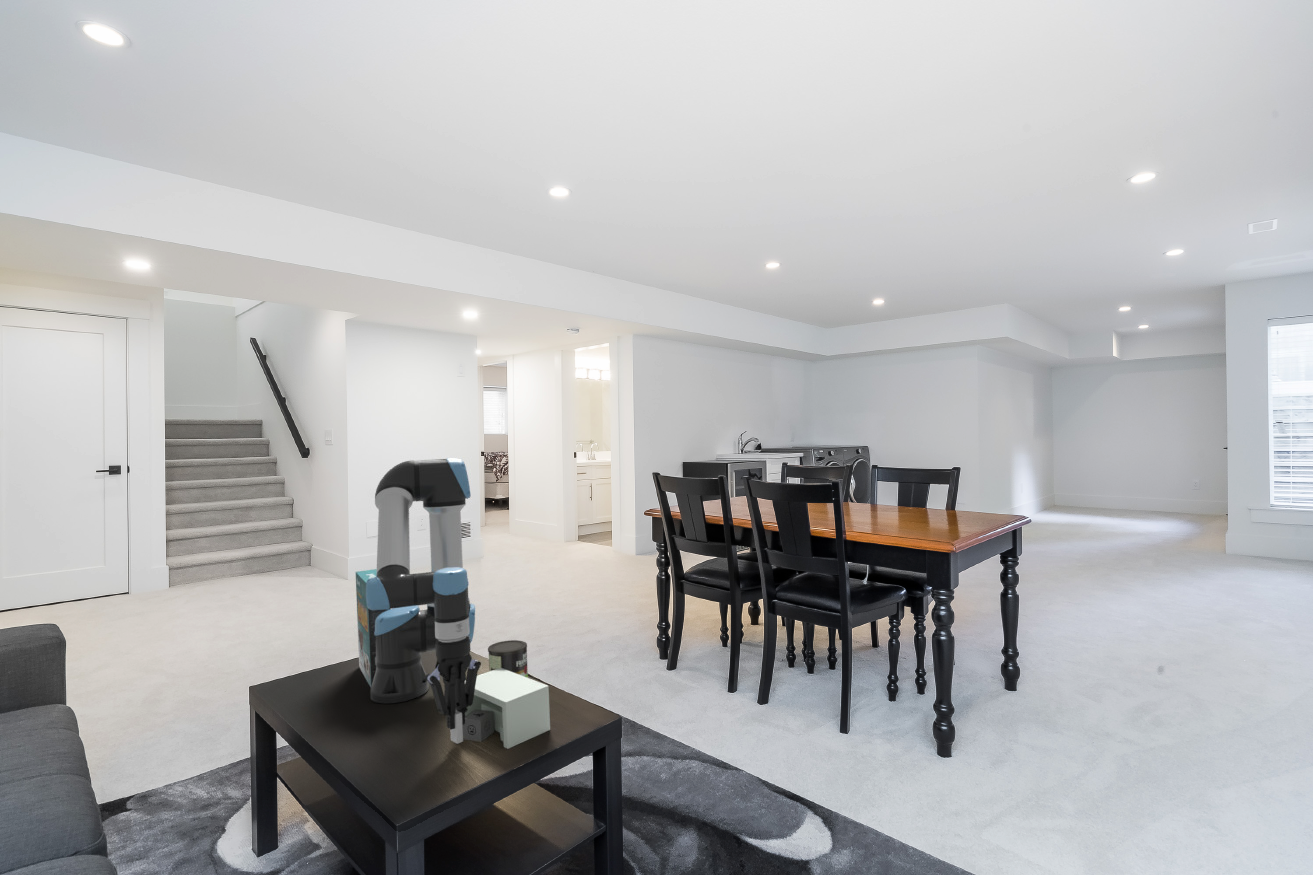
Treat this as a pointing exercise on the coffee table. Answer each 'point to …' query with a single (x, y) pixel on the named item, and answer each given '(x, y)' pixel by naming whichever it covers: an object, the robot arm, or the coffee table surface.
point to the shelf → (513, 705)
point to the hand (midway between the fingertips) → (456, 740)
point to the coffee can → (509, 656)
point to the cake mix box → (366, 626)
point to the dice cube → (478, 725)
